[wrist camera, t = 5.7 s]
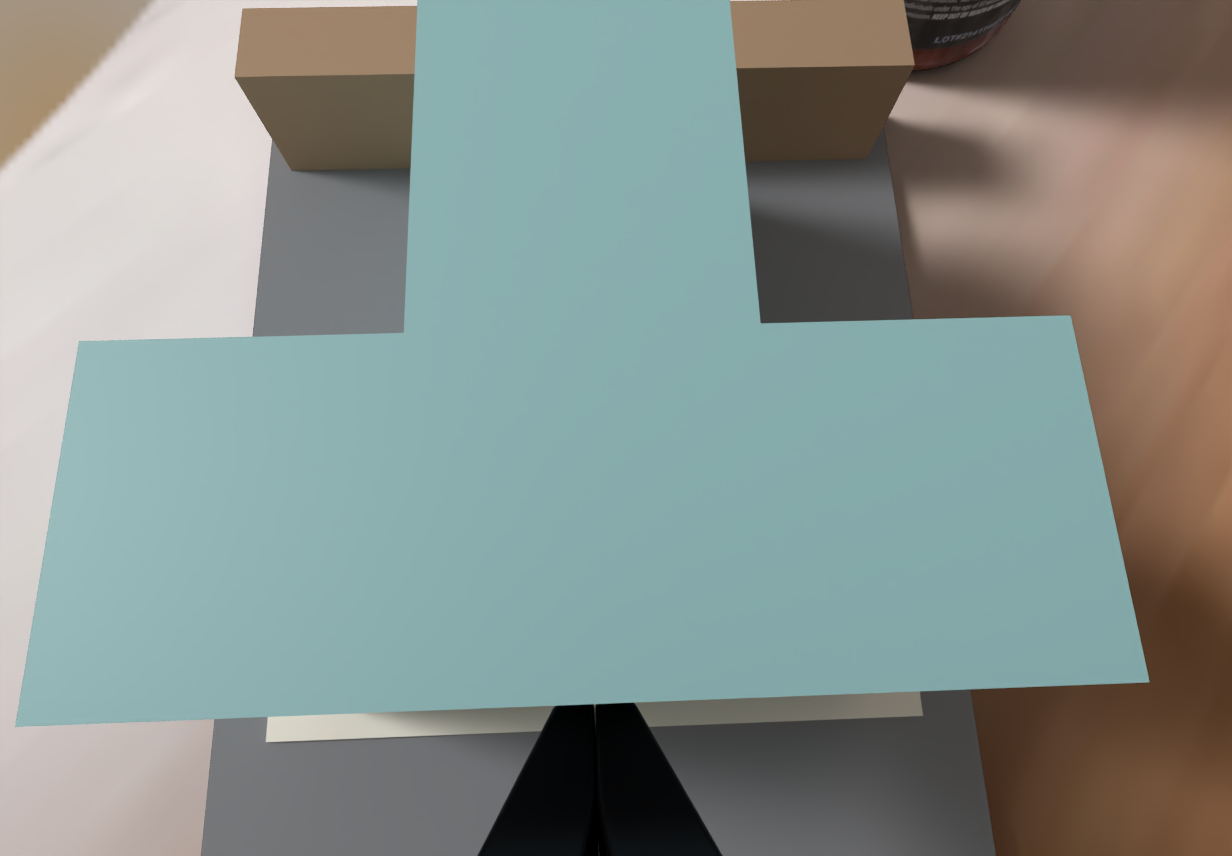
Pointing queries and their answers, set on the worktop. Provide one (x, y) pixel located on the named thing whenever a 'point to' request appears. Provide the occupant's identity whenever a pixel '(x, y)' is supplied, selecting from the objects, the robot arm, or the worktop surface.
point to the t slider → (575, 444)
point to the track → (787, 293)
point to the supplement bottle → (953, 28)
